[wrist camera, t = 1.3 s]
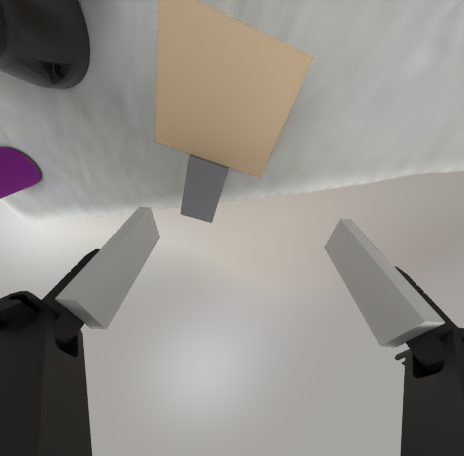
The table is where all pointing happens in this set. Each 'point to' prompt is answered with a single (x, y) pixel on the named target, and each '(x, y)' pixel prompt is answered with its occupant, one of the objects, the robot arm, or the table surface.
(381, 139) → the table surface
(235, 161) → the carton lid
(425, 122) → the table surface
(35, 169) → the beverage can
